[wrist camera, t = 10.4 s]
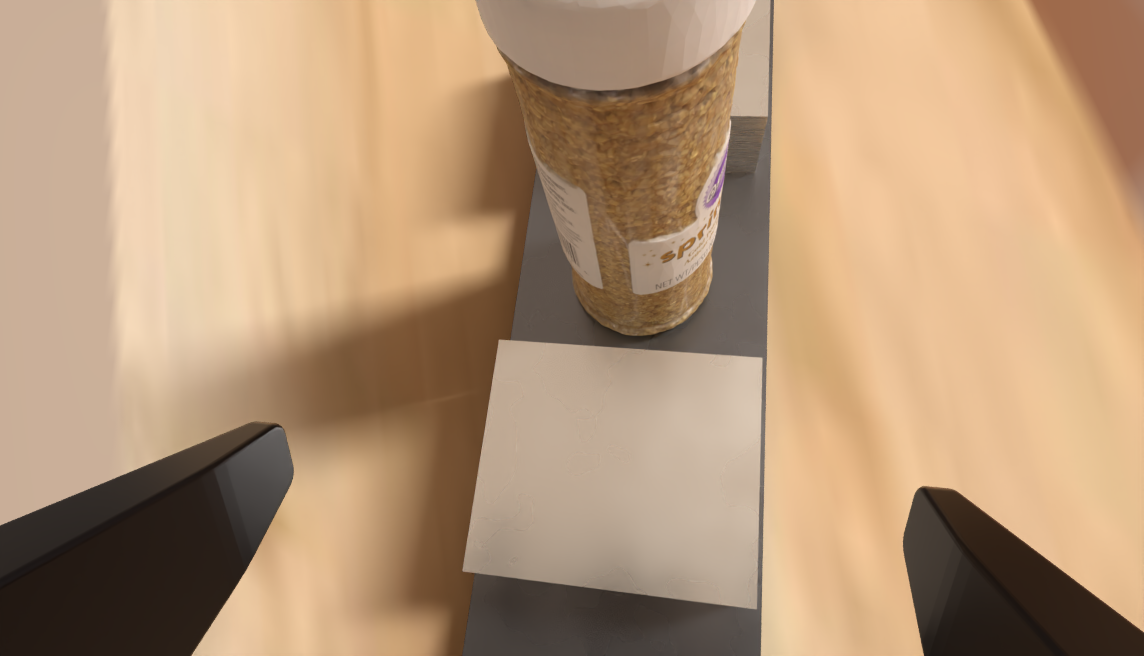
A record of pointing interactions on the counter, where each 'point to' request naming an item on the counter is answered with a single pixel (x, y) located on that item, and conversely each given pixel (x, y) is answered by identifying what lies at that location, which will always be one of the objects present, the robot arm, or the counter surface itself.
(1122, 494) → the counter surface
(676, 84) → the sprinkles bottle
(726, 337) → the mounting plate
